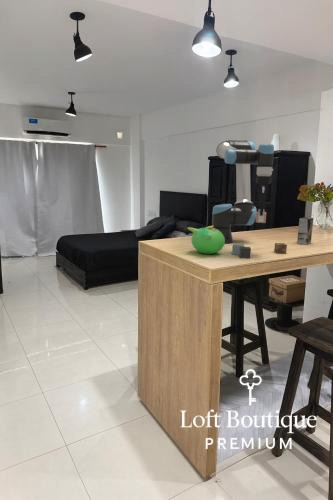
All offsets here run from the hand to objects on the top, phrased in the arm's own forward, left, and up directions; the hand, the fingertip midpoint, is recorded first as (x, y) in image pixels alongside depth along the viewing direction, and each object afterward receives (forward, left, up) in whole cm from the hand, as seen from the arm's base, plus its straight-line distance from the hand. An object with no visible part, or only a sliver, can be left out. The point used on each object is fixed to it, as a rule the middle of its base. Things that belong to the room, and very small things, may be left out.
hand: (260, 221), depth 181 cm
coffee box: (+28, +43, -18) cm, 54 cm away
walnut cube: (+12, +8, -18) cm, 23 cm away
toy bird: (-26, -8, -18) cm, 33 cm away
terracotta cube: (0, 0, 0) cm, 0 cm away
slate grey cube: (-10, -3, -18) cm, 21 cm away
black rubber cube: (-6, -10, -18) cm, 21 cm away
